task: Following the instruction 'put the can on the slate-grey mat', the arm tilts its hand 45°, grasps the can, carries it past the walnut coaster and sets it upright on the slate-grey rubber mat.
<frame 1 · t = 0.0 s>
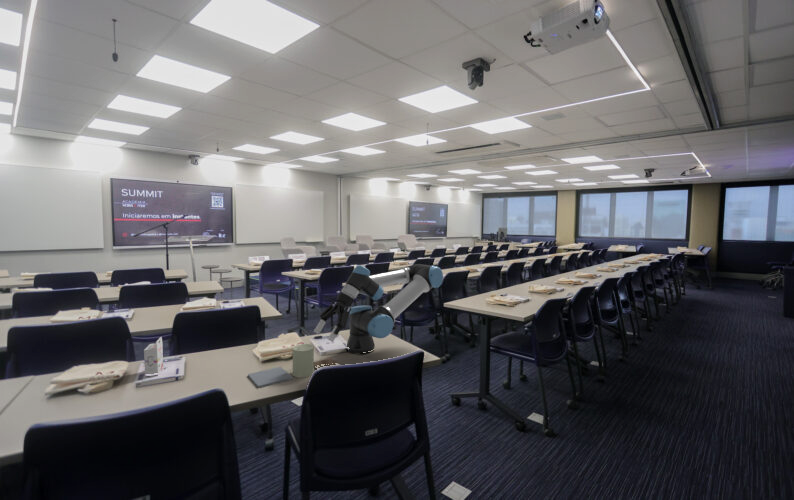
hand: (322, 336, 154), 15 cm above the table, tool tilted 35°, fingers open, 13 cm apart
ink cartridge box: (154, 373, 148), on the table
grey mat: (270, 377, 146), on the table
walnut coaster: (325, 365, 160), on the table
can: (303, 373, 151), on the table
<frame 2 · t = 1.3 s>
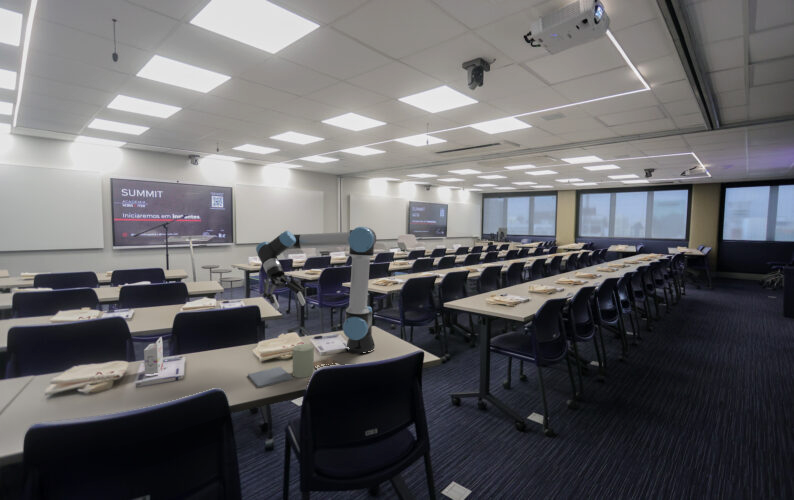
hand: (291, 306, 156), 28 cm above the table, tool tilted 45°, fingers open, 13 cm apart
nothing on the table moved.
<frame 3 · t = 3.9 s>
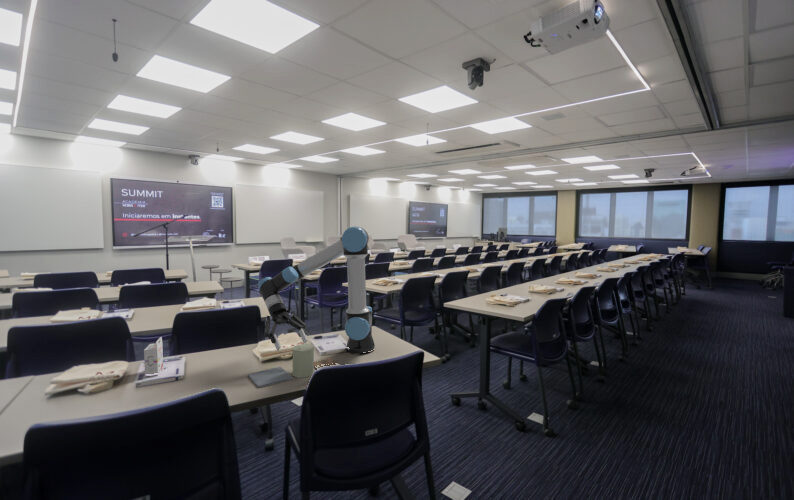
hand: (293, 345, 154), 11 cm above the table, tool tilted 45°, fingers open, 13 cm apart
nothing on the table moved.
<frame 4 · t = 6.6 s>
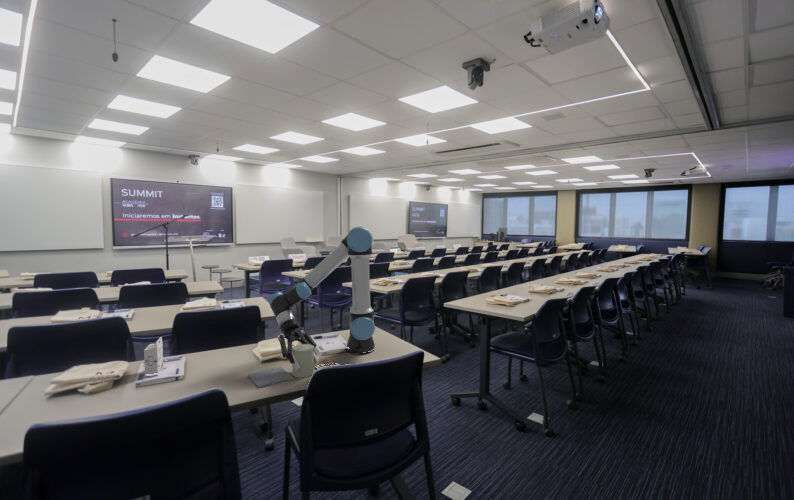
hand: (307, 366, 149), 4 cm above the table, tool tilted 45°, fingers closed on can, 9 cm apart
can: (303, 373, 151), on the table, touching gripper
everything else where it was.
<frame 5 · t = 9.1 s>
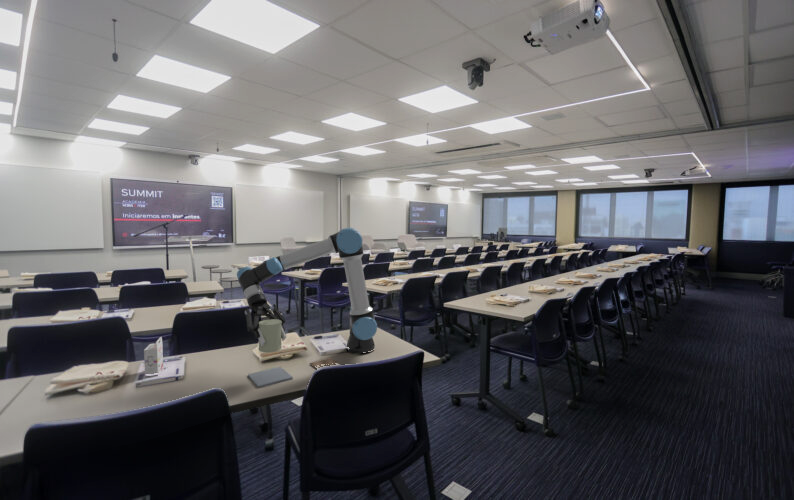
hand: (274, 341, 143), 16 cm above the table, tool tilted 45°, fingers closed on can, 9 cm apart
can: (270, 349, 145), point 12 cm above the table, touching gripper
everything else where it was.
when the fingers open (6 cm above the table, at t = 11.9 s): can drops 1 cm, resting on grey mat.
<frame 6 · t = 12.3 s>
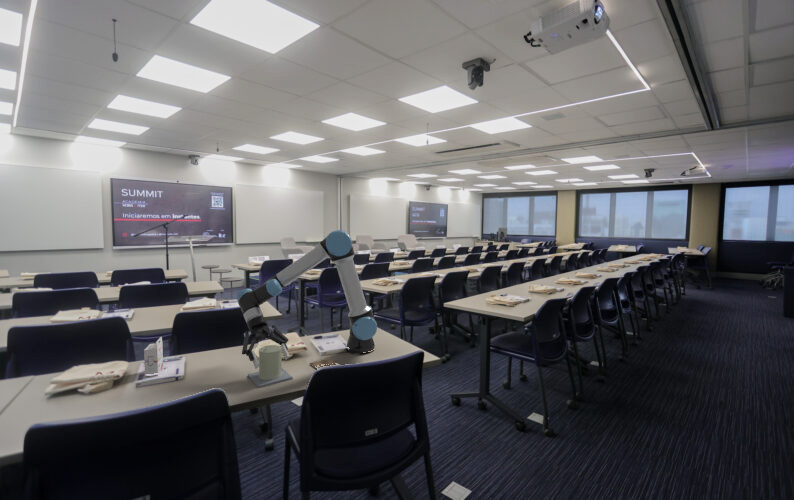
hand: (273, 362, 144), 7 cm above the table, tool tilted 45°, fingers open, 13 cm apart
can: (270, 375, 146), point 1 cm above the table, touching grey mat
everything else where it was.
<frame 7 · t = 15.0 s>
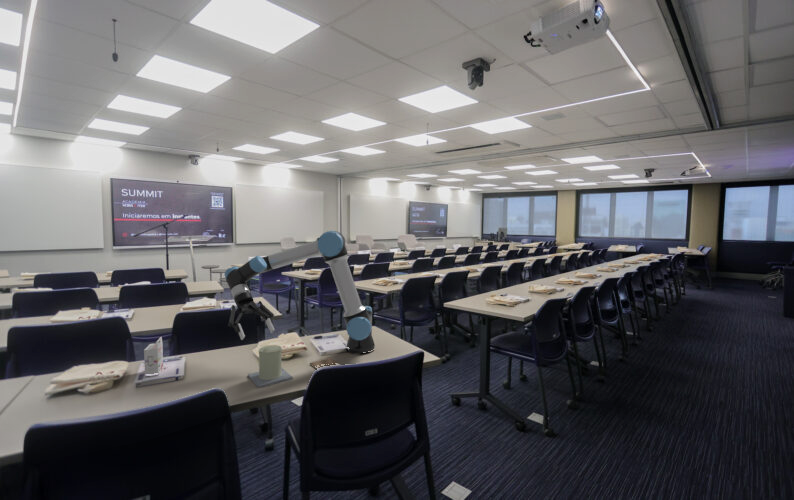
hand: (258, 334, 151), 16 cm above the table, tool tilted 45°, fingers open, 13 cm apart
nothing on the table moved.
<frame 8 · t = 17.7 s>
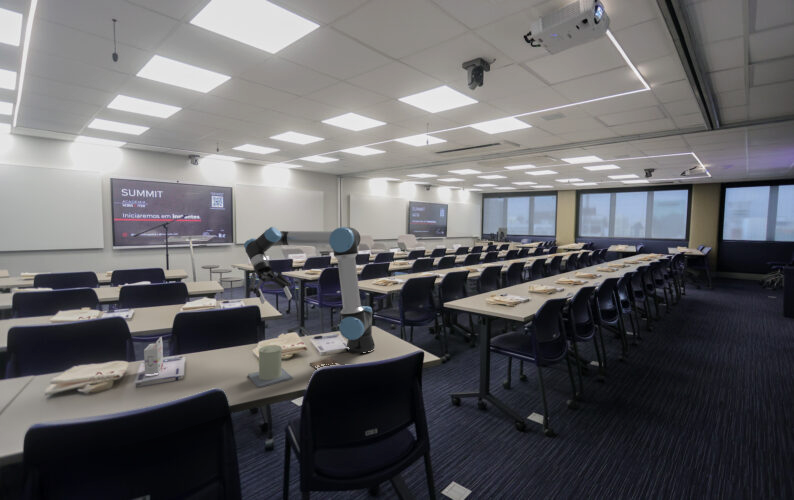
hand: (277, 300, 161), 30 cm above the table, tool tilted 45°, fingers open, 13 cm apart
nothing on the table moved.
at the end: can 0.2 cm off-centre on the grey mat, point 0.6 cm above the grey mat's base; can tilted 0°; can touching grey mat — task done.
